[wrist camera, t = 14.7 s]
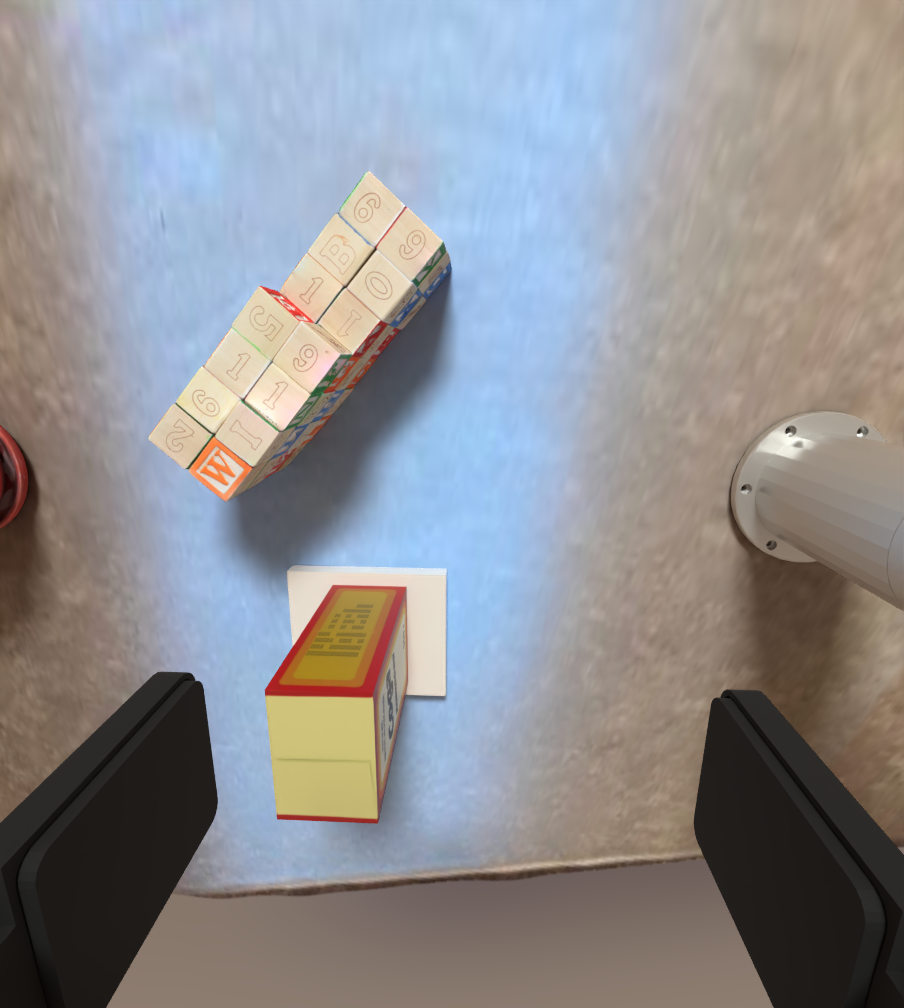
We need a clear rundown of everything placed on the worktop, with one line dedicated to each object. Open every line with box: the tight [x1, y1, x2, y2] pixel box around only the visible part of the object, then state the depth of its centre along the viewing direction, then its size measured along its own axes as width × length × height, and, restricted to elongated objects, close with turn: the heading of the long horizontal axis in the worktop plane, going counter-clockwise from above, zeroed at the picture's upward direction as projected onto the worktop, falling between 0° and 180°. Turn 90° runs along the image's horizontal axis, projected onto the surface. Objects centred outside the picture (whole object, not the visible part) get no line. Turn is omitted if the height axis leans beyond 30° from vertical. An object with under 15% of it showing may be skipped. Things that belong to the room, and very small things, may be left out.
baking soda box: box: [265, 585, 408, 823], centre depth 40 cm, size 10×6×16 cm
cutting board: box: [287, 565, 447, 696], centre depth 49 cm, size 14×12×2 cm
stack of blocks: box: [149, 171, 452, 502], centre depth 37 cm, size 21×6×12 cm, turn 138°
